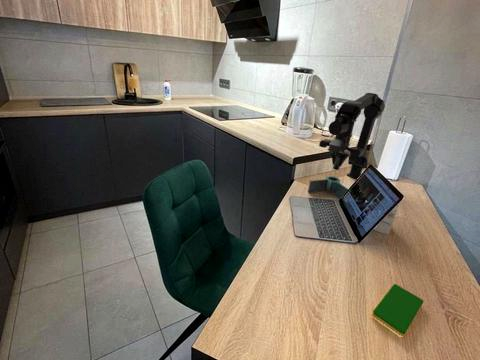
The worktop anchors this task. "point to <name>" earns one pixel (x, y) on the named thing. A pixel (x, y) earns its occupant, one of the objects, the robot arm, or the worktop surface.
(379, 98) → the robot arm
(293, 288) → the worktop surface
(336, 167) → the hinge pin
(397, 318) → the dish sponge
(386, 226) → the light bulb box
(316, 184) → the hinge
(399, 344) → the worktop surface
